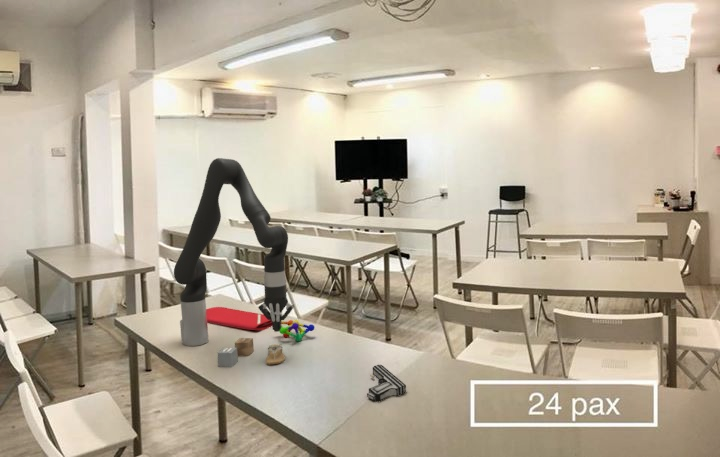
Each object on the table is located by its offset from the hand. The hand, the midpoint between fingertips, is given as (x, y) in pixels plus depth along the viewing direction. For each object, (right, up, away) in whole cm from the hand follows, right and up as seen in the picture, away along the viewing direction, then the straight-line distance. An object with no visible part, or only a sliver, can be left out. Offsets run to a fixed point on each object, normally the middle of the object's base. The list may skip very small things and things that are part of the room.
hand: (277, 330), depth 183 cm
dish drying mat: (-26, -5, +45) cm, 53 cm away
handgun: (+35, -12, -26) cm, 45 cm away
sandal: (-1, -10, +1) cm, 10 cm away
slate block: (-16, -11, -4) cm, 20 cm away
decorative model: (+4, -7, +20) cm, 21 cm away
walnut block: (-13, -9, +6) cm, 17 cm away
